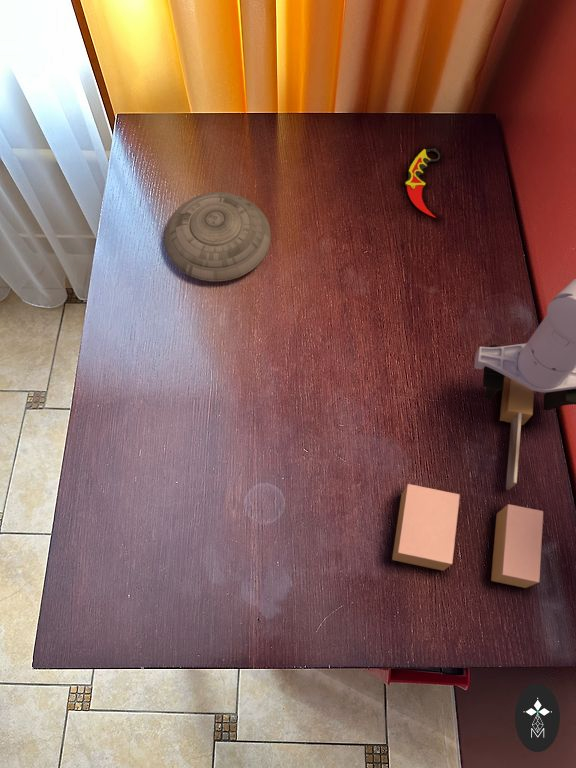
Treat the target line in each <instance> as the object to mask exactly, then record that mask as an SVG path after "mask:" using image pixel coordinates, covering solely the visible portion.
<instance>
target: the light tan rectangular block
mask: <svg viewBox="0 0 576 768" xmlns="http://www.w3.org/2000/svg"><path fill="white" fill-rule="evenodd" d="M495 517H496V518H495V528H494V541H493V542H494V544H493V553H492V567H491V577H490V581H491V582H495V583H500V584H505V585H509V586H515V587H519V588H524V589H526V588H529V587H532V586H534V585H536V584H538V583H540V576H541V560H542V543H543V541H542V540H543V524H544V510H540V509H534V508H530V507H524V506H519V505H514V504H509V503H508V504H506V505H505V506H504V507H503V508H502V509H500V510H499V511H498V512H497V513H496V516H495Z"/></svg>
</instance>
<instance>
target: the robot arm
mask: <svg viewBox="0 0 576 768" xmlns="http://www.w3.org/2000/svg"><path fill="white" fill-rule="evenodd" d="M473 364H474V366H473V368H474V369H476V370H483V376H482V384H483V385H482V386H483V387H484V388H485V392H484V398H485V399H486V400H492V399H493V398H494V397H495V395H496V393H498V392H499V391H502V390H503V387H504V377H505V376H507V377H508V378H510V379H512V380H514V381H516V382H518V383H520V384H522V385H524V386H526V387H527V388H529V389H532V390H534V392H538V393H543V394H544V395H543V404H542V405H543V407H542V410H544V411H551V410H554V409H557V408H560V407H564V406H571V405H572V406H573V405H575V406H576V277H574V278H573V279H572V280H571V282H569V283H568V284H567V285H566V286H565V287H564V288H563V289H562V290H560V292H558V294H556V296H554V297H553V298H552V300H551V301H550V302H549V303H548V305H547V308H546V315H545V316H544V318H543V319H542V320H541V322H540V323H539V325H538V326H537V328H536V329H535V330H534V332H533V334H532V335H531V336H530V338H529V339H528V341H527V342H525V343H517V344H511V345H498V344H490V345H489V346H488V347H487V346H479V347H478V349H477V350H476V352H475V356H474V363H473Z"/></svg>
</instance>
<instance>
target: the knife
mask: <svg viewBox="0 0 576 768" xmlns="http://www.w3.org/2000/svg"><path fill="white" fill-rule="evenodd" d="M428 152H433V153H434V154H436V155H437V158H434V159H433V158H431V157H429V156H428ZM440 158H441V153H440V151H438V150H437V147H435V148H434V147H433V148H426V149H425V148H424V149H422V150H421V152H419V153H418V155H417V156H415V158H414V160H413V161H412V163H411V164H410V166H409V169H408V171H407V174H408V177H407V180H406V181H405V183H404V187H405V186H406V192H407V195H408V197H409V200H410V201H411V203H412V204H413V205H414V206H415V207H416V208H417V209H418V210H419V211H421V212H422V213H423V214H426V215H427V216H430V217H433V218H436V219H437V217H436V216H435V215H434V214H433V213H432V212H431V211H430V210H429V209H428V207H427V206H426V205H425V203H424V200H423V188H425V187H426V181H425V182H424V181H423V180H422V179H420V176H421V175H423V174H424V171H423V170H425V169H426V168H428V164H429V163H436V162H438V161H439V160H441V159H440Z"/></svg>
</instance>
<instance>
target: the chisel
mask: <svg viewBox="0 0 576 768" xmlns="http://www.w3.org/2000/svg"><path fill="white" fill-rule="evenodd" d="M534 400H535V391H534V390H532V389H529V388H527V387H526V386H524V385H522V384H520V383H518V382H516V381H514V380H512V379H510V378H508V377H507V376H505V377H504V387H503V390H501V402H500V413H499V414H500V415H499V421H500V422H505V423H510V433H509V444H508V456H507V469H506V480H505V483H506V485H505V490H507V491H510V490H511V489H512V488H513V487H514V486H515V485H516V484H518V482H517V481H518V473H519V458H520V446H521V445H520V443H521V430H522V426H524V425H525V424H526V423H527V422H528V421H529V420H530V418H532V416H533V414H534V402H535V401H534Z"/></svg>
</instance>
